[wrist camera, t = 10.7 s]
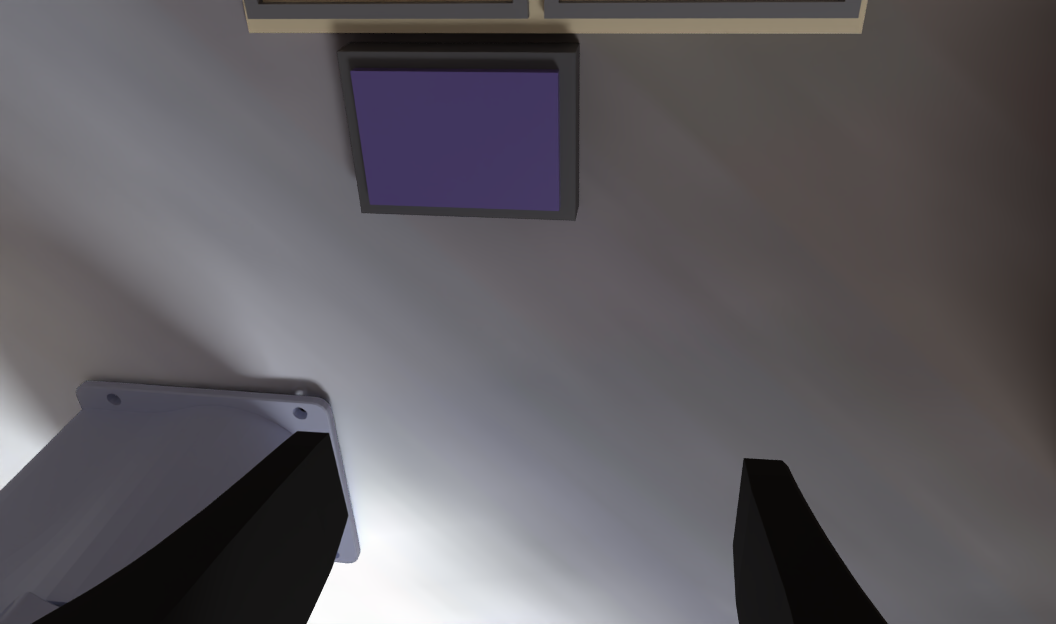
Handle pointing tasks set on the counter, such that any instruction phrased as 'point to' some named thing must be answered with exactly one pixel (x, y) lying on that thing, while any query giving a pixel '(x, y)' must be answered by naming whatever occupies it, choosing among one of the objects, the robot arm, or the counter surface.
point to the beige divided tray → (556, 16)
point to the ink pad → (464, 128)
